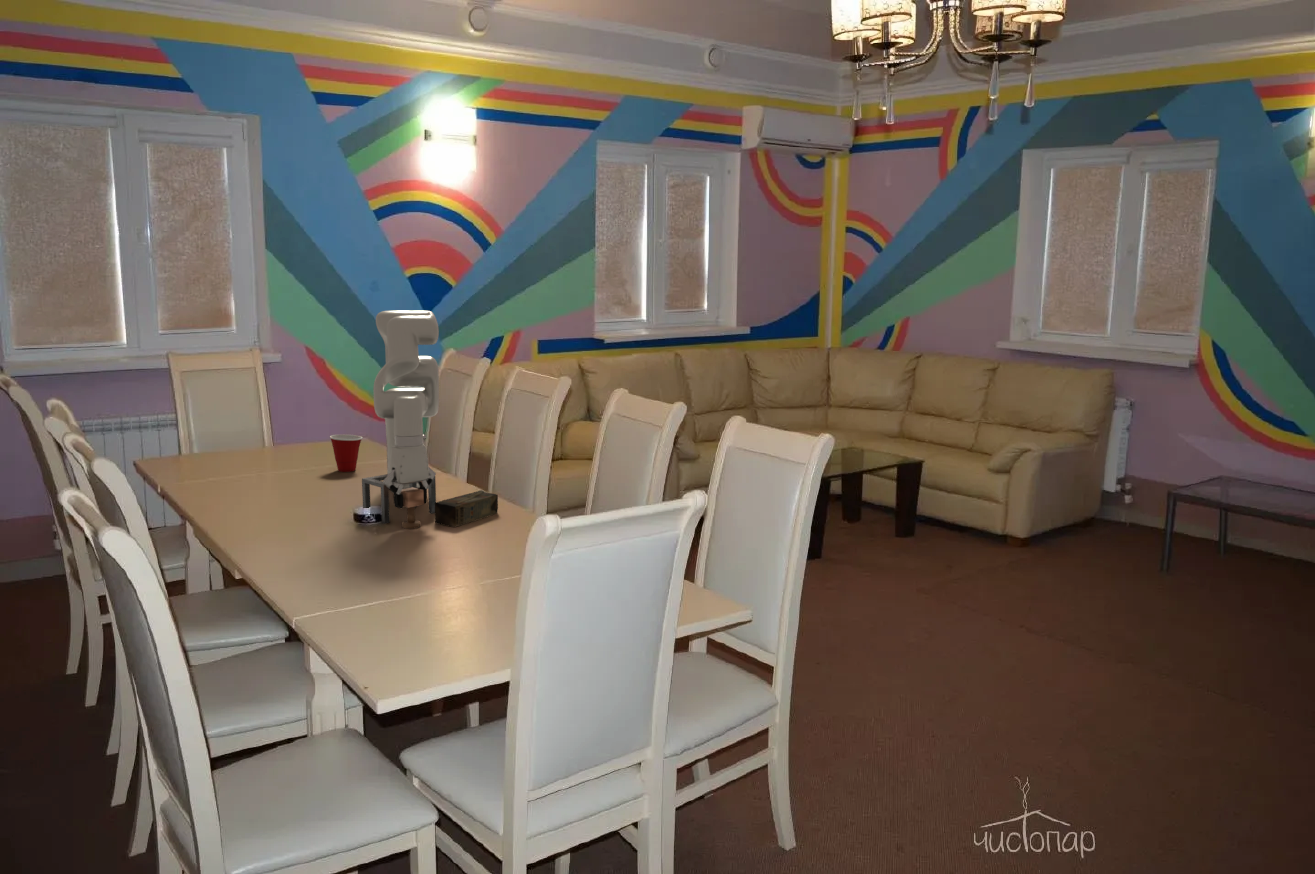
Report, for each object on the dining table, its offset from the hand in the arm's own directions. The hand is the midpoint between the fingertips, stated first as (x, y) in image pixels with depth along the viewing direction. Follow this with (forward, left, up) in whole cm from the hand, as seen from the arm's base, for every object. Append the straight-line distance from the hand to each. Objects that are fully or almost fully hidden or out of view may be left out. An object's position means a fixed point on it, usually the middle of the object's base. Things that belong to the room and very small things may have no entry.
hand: (410, 504), depth 276 cm
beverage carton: (-16, +3, -7) cm, 18 cm away
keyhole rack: (-5, -13, -6) cm, 15 cm away
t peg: (0, 0, -6) cm, 6 cm away
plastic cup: (-26, -76, -6) cm, 81 cm away
